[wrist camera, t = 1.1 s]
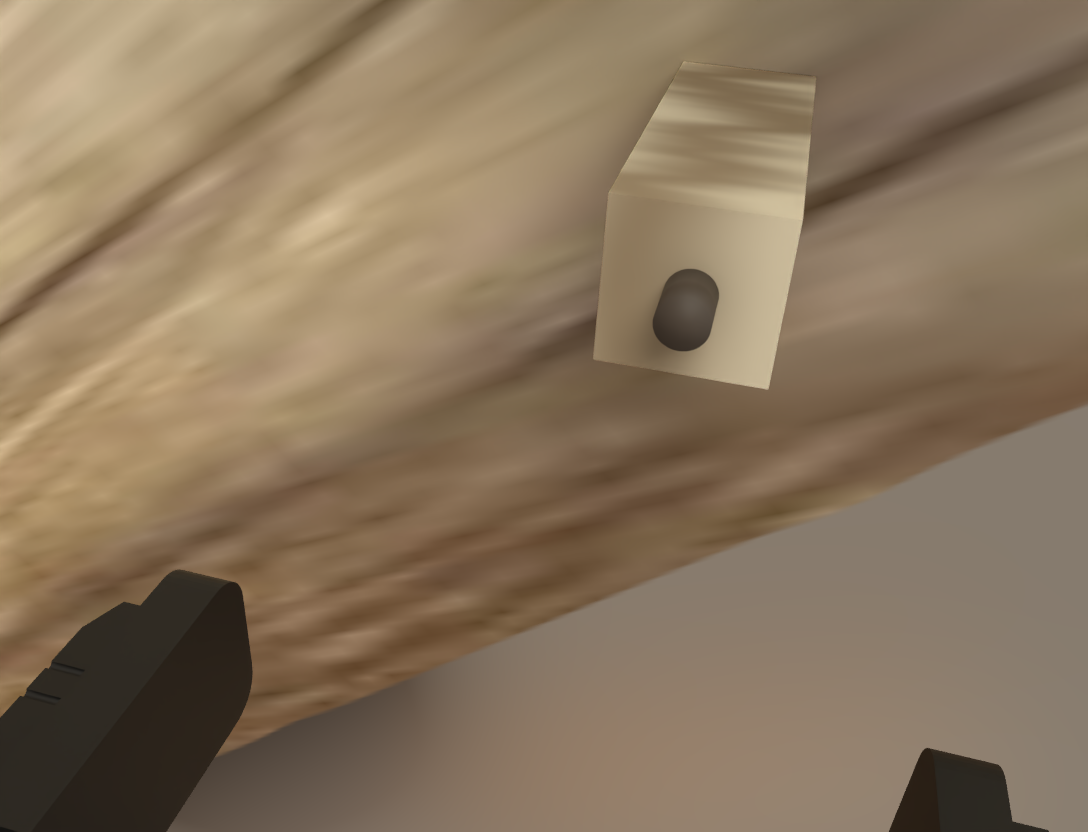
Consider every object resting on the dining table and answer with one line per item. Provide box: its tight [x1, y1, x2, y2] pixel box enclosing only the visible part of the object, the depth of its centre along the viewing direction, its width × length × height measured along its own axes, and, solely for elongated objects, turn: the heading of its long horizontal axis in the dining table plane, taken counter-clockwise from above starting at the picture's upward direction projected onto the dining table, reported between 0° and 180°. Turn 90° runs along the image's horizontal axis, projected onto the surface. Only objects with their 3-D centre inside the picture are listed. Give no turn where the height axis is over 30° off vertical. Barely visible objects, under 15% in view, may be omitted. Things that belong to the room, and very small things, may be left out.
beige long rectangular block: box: [593, 61, 816, 389], centre depth 26 cm, size 4×4×14 cm
